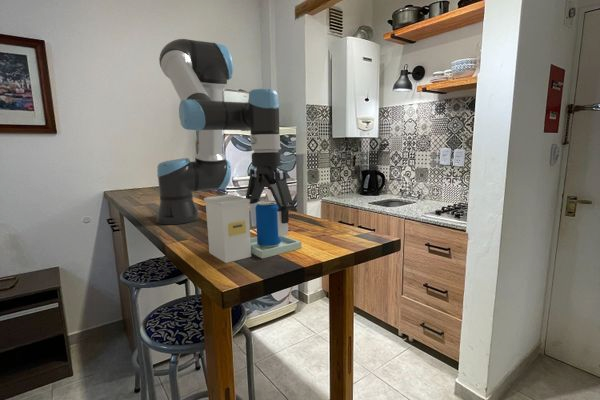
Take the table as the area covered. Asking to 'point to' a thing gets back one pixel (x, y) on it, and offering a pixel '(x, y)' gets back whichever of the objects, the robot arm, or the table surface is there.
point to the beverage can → (267, 224)
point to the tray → (284, 246)
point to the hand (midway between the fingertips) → (269, 230)
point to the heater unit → (228, 227)
